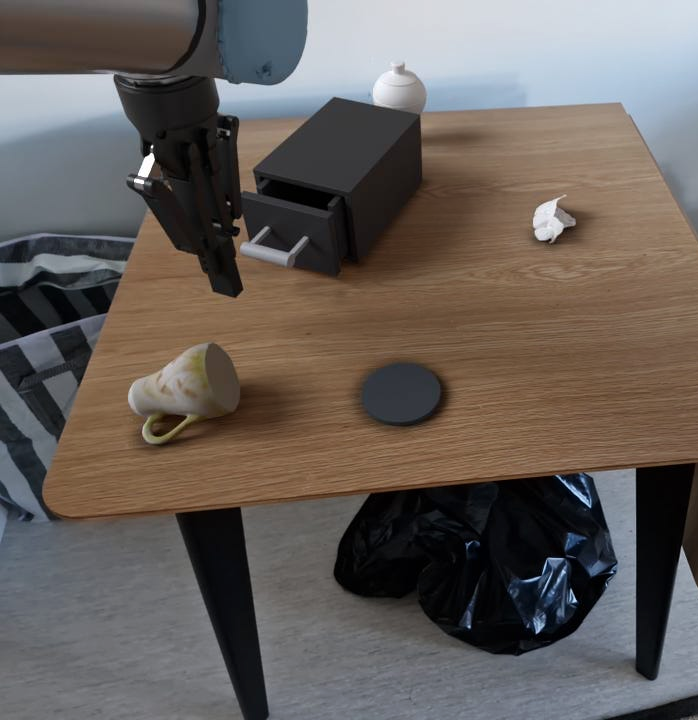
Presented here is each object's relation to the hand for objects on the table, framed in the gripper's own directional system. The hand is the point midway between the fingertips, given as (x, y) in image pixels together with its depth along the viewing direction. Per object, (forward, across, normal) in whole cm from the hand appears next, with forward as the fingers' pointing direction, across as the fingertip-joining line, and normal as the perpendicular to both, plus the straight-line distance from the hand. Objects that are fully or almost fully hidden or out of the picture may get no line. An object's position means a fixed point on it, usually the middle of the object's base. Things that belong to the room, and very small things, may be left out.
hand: (228, 290), depth 75 cm
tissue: (+7, +32, -26) cm, 42 cm away
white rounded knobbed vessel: (+7, +44, +1) cm, 45 cm away
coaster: (+6, -2, -20) cm, 21 cm away
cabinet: (+6, +25, 0) cm, 26 cm away
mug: (+6, -11, -2) cm, 13 cm away
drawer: (+5, +18, 0) cm, 19 cm away
